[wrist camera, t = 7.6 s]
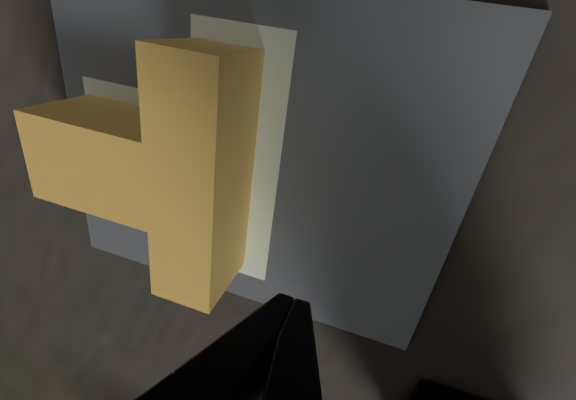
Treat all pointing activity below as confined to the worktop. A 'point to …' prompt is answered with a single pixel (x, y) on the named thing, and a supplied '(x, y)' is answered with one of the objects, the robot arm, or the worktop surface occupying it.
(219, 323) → the worktop surface
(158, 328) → the worktop surface
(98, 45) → the mat
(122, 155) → the t block
